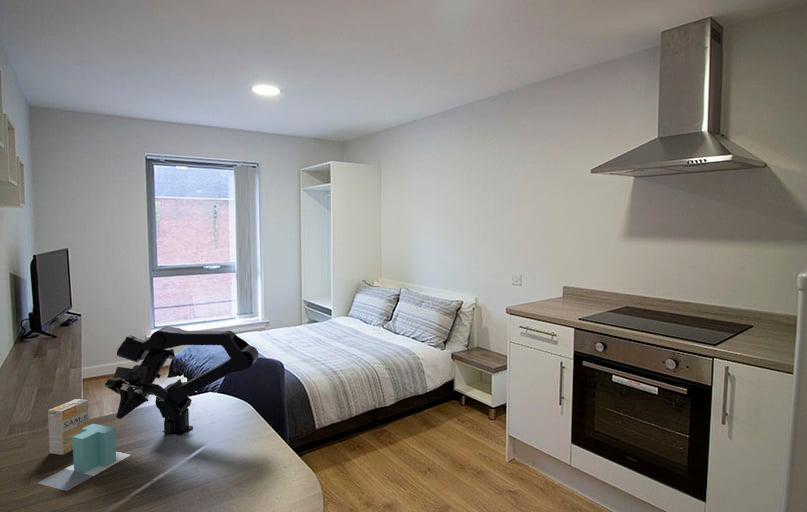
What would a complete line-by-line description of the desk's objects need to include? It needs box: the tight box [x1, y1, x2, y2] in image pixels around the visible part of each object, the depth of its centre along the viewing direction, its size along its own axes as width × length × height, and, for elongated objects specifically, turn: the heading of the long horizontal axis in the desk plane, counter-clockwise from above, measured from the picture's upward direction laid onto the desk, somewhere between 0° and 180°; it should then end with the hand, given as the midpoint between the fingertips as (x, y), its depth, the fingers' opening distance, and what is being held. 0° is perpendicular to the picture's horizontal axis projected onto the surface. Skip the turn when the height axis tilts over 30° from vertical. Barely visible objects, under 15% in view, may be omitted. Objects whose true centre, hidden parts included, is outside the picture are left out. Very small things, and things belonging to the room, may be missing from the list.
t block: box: [72, 423, 117, 473], centre depth 114 cm, size 7×8×9 cm
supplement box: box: [47, 398, 90, 456], centre depth 123 cm, size 8×5×13 cm, turn 168°
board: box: [37, 451, 131, 492], centre depth 113 cm, size 17×10×1 cm, turn 163°
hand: (118, 418), depth 121 cm, fingers closed
